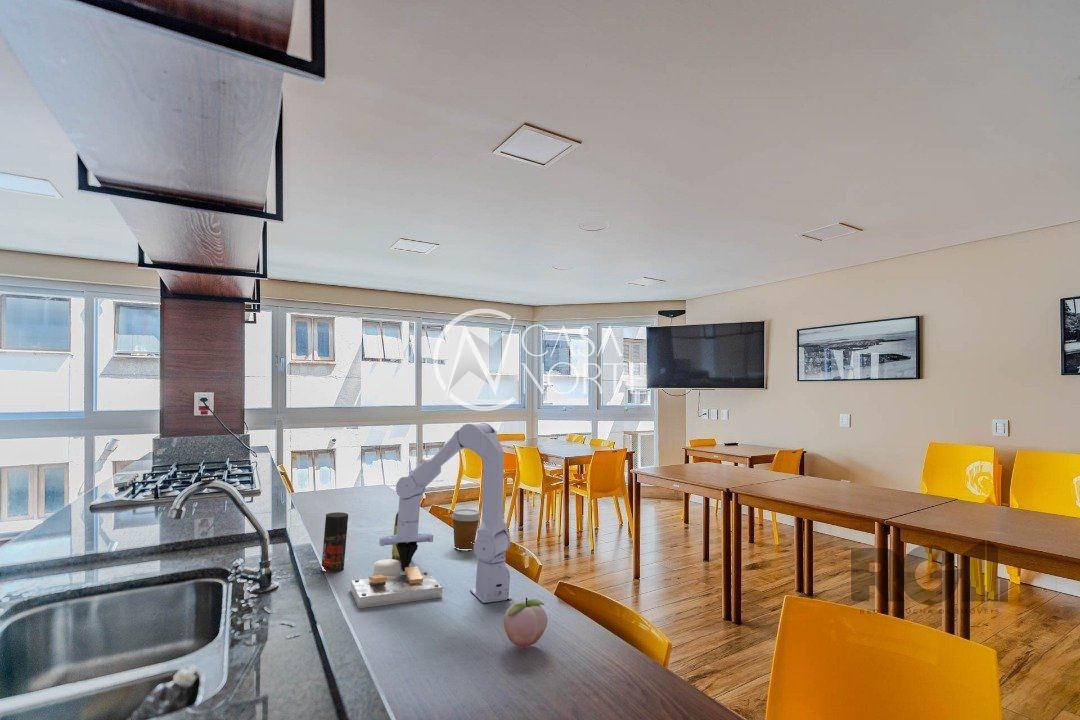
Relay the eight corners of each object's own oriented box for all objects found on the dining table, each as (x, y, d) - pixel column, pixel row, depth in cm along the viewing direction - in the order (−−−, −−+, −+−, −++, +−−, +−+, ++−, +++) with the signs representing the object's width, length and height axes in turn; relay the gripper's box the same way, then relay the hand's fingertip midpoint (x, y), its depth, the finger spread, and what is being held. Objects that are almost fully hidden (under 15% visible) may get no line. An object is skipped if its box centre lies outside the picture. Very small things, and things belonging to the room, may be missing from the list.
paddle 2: (422, 582, 133) (423, 578, 132) (410, 583, 131) (410, 579, 131) (416, 569, 138) (417, 566, 138) (404, 571, 136) (405, 567, 136)
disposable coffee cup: (463, 554, 167) (466, 516, 168) (443, 548, 172) (446, 511, 173) (484, 548, 174) (486, 512, 175) (464, 542, 180) (466, 507, 181)
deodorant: (316, 569, 145) (321, 514, 146) (333, 564, 150) (338, 511, 152) (331, 574, 142) (336, 518, 144) (348, 568, 148) (352, 514, 149)
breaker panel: (441, 597, 130) (442, 584, 131) (358, 608, 121) (359, 594, 121) (427, 581, 141) (428, 569, 141) (350, 590, 132) (351, 577, 132)
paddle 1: (387, 581, 128) (387, 577, 128) (373, 583, 127) (374, 578, 127) (381, 578, 133) (381, 574, 133) (368, 580, 132) (369, 576, 132)
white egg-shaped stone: (402, 581, 140) (403, 565, 141) (375, 584, 137) (377, 568, 137) (396, 572, 146) (397, 558, 147) (370, 575, 143) (371, 560, 143)
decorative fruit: (522, 633, 113) (525, 586, 114) (552, 646, 108) (555, 597, 108) (492, 648, 106) (495, 597, 106) (522, 663, 100) (525, 609, 101)
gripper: (429, 515, 152) (426, 563, 151) (378, 518, 145) (374, 568, 144) (436, 521, 146) (433, 570, 145) (384, 524, 139) (380, 576, 138)
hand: (404, 570), depth 144 cm, fingers closed
